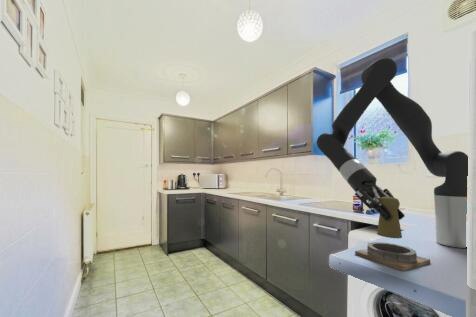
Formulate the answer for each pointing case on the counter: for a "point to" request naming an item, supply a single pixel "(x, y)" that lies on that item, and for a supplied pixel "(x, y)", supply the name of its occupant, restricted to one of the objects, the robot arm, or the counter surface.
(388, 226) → the brown tapered knobbed cylinder
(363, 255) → the spice stand
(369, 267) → the counter surface
